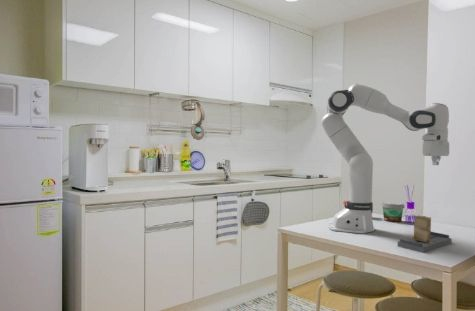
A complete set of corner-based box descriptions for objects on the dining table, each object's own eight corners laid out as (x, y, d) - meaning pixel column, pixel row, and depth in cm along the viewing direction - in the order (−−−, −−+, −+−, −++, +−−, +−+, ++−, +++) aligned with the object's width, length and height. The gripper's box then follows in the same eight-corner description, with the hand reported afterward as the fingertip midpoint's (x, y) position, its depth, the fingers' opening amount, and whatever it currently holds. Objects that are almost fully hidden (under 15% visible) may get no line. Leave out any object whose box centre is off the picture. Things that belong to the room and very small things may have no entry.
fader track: (426, 237, 175) (426, 230, 175) (451, 242, 166) (451, 235, 166) (397, 246, 160) (397, 238, 160) (423, 252, 151) (423, 244, 151)
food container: (384, 222, 205) (385, 204, 204) (381, 220, 211) (381, 202, 210) (407, 223, 204) (408, 205, 204) (403, 220, 210) (403, 203, 210)
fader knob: (418, 237, 164) (419, 215, 164) (430, 240, 160) (431, 217, 160) (413, 239, 162) (414, 216, 161) (425, 242, 158) (426, 218, 157)
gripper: (440, 137, 190) (439, 164, 191) (420, 136, 178) (418, 165, 179) (453, 137, 185) (452, 165, 186) (434, 136, 173) (432, 166, 174)
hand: (435, 165), depth 182 cm, fingers closed
